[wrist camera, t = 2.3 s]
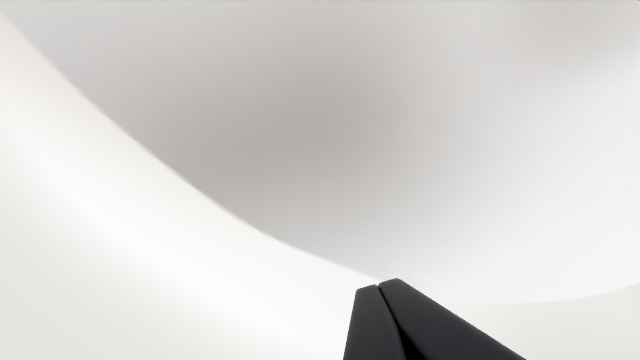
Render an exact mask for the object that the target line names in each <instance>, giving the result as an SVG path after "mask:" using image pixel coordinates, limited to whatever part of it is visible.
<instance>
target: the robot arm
mask: <svg viewBox="0 0 640 360" xmlns="http://www.w3.org/2000/svg"><path fill="white" fill-rule="evenodd" d="M343 360H526V359H524V358H523V357H521V356H520V355H518V354H517V353H515V352H513V351H512V350H510V349H509V348H507V347H506V346H504V345H502V344H501V343H499V342H498V341H496V340H494V339H493V338H491V337H490V336H488V335H487V334H485V333H484V332H482V331H481V330H479V329H477V328H476V327H474V326H473V325H471V324H469V323H468V322H466V321H465V320H463V319H462V318H460V317H458V316H457V315H455V314H454V313H452V312H451V311H449V310H448V309H446V308H444V307H443V306H441V305H439V304H438V303H437V302H435V301H433V300H432V299H430V298H429V297H427V296H426V295H424V294H422V293H421V292H419V291H418V290H416V289H415V288H413V287H411V286H410V285H408V284H407V283H405V282H404V281H402V280H400V279H398V278H395V279H391V280H388V281H384V282H381V283H379V285H378V286H377V285H370V286H367V287H364V288H360V289H358V290H357V291H356V294H355V299H354V305H353V310H352V315H351V321H350V326H349V331H348V336H347V342H346V347H345V352H344V357H343Z"/></svg>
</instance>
